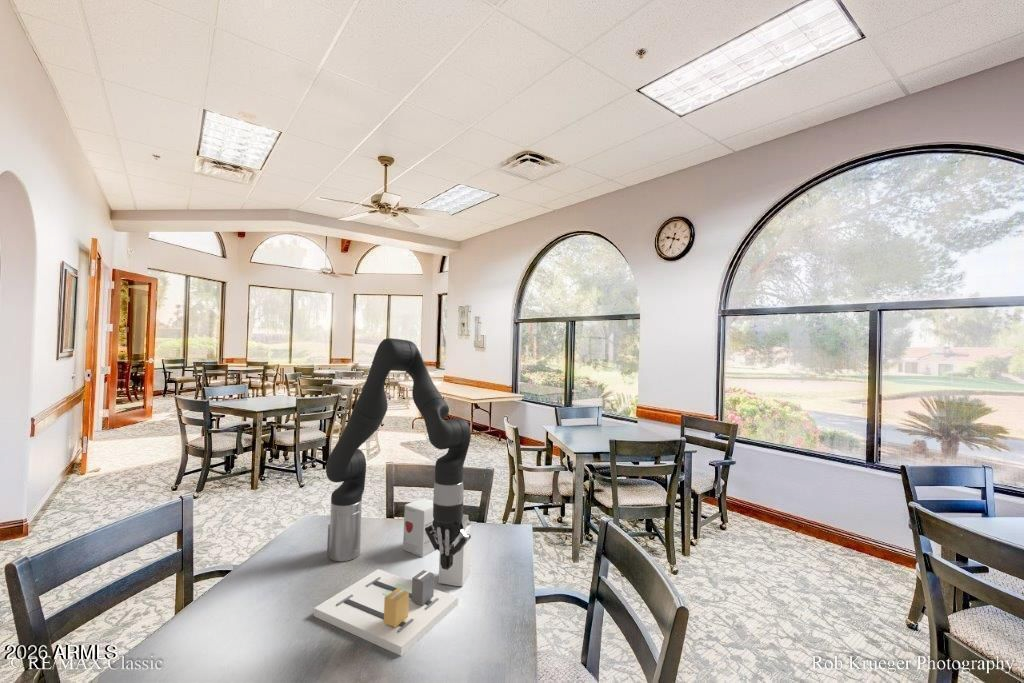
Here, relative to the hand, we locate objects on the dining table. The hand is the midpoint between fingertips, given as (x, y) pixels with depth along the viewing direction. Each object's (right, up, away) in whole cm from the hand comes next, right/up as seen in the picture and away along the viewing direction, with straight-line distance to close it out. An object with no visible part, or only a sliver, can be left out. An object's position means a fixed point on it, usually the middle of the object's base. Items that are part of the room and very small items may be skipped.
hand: (446, 567), depth 112 cm
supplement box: (-14, -12, +36) cm, 40 cm away
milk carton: (0, -13, +18) cm, 22 cm away
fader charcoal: (-7, -10, +3) cm, 12 cm away
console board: (-15, -12, +2) cm, 19 cm away
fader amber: (-11, -10, -6) cm, 16 cm away
